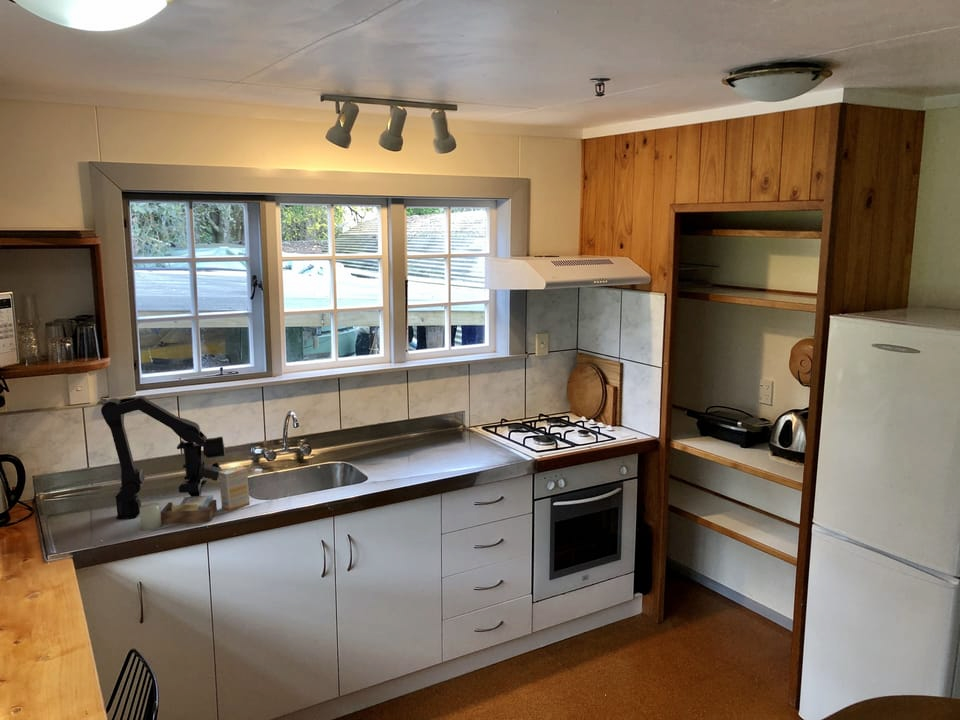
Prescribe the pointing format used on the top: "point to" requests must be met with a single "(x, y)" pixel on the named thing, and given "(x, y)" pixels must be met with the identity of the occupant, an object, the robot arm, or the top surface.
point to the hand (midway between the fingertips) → (197, 503)
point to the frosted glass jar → (150, 516)
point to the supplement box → (234, 488)
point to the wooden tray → (187, 513)
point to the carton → (198, 501)
